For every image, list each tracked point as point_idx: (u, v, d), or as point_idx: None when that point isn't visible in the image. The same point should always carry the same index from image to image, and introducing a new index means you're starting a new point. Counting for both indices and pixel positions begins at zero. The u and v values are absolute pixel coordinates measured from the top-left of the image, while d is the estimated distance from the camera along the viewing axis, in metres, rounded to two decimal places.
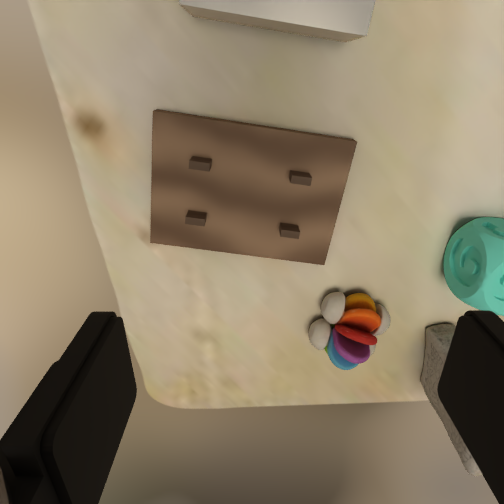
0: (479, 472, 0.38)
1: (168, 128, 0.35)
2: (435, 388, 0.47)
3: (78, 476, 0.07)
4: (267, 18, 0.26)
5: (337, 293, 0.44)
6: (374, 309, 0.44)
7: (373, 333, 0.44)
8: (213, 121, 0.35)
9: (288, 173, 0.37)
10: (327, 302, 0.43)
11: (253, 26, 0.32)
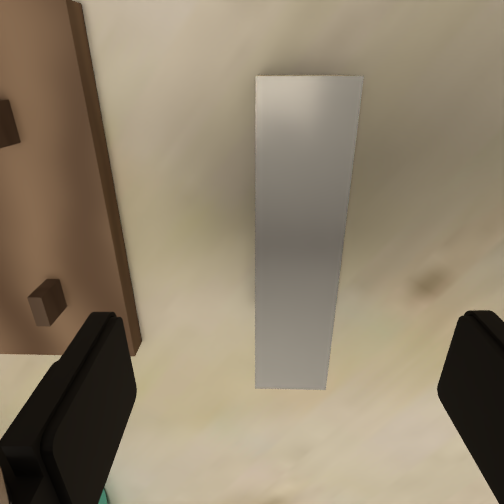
0: None
1: (41, 39, 0.16)
2: None
3: (78, 476, 0.07)
4: (256, 253, 0.15)
5: None
6: None
7: None
8: (90, 138, 0.18)
9: (53, 277, 0.22)
10: None
11: None
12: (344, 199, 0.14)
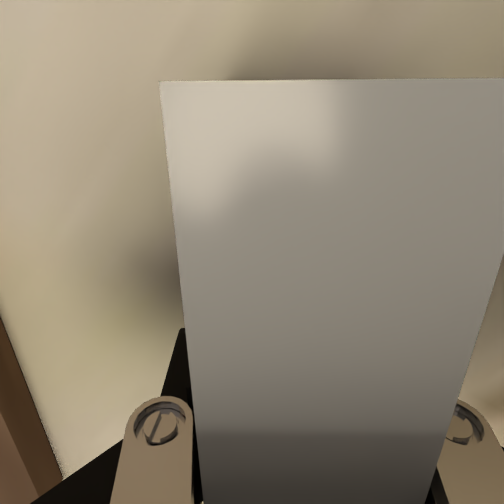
0: None
1: None
2: None
3: None
4: None
5: None
6: None
7: None
8: None
9: None
10: None
11: None
12: (439, 417, 0.05)
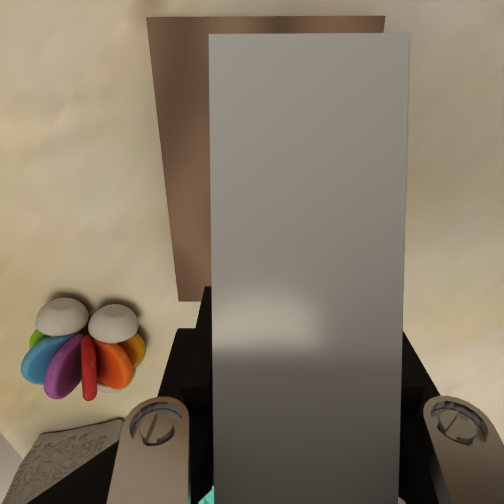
0: None
1: None
2: (45, 467, 0.35)
3: None
4: (215, 394, 0.07)
5: (136, 321, 0.31)
6: None
7: None
8: None
9: None
10: (120, 316, 0.30)
11: None
12: (394, 271, 0.07)
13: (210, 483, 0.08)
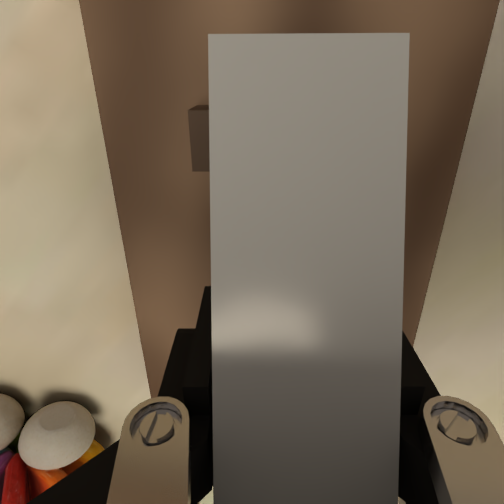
0: None
1: (450, 26, 0.12)
2: None
3: None
4: (215, 394, 0.07)
5: (91, 428, 0.22)
6: None
7: None
8: (458, 153, 0.14)
9: None
10: (64, 428, 0.20)
11: None
12: (394, 271, 0.07)
13: (210, 483, 0.08)
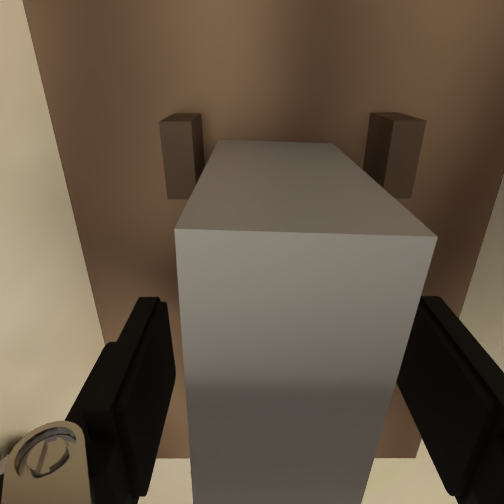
0: None
1: (499, 12, 0.10)
2: None
3: (140, 444, 0.08)
4: None
5: None
6: None
7: None
8: (500, 172, 0.11)
9: None
10: None
11: None
12: (369, 442, 0.07)
13: None
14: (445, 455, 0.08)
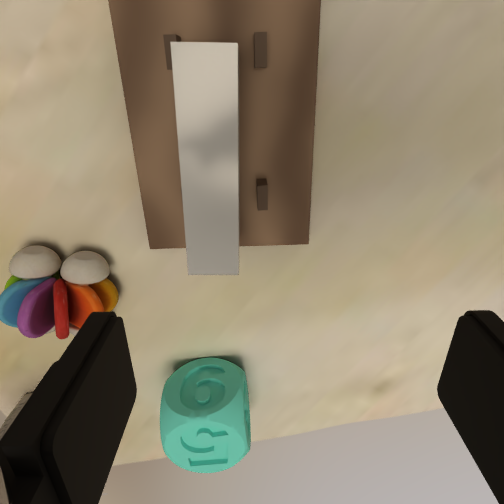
0: None
1: None
2: None
3: (78, 476, 0.07)
4: (180, 166, 0.22)
5: (107, 266, 0.32)
6: None
7: (69, 326, 0.33)
8: (315, 62, 0.26)
9: (261, 177, 0.29)
10: (90, 259, 0.31)
11: None
12: (235, 126, 0.21)
13: None
14: None
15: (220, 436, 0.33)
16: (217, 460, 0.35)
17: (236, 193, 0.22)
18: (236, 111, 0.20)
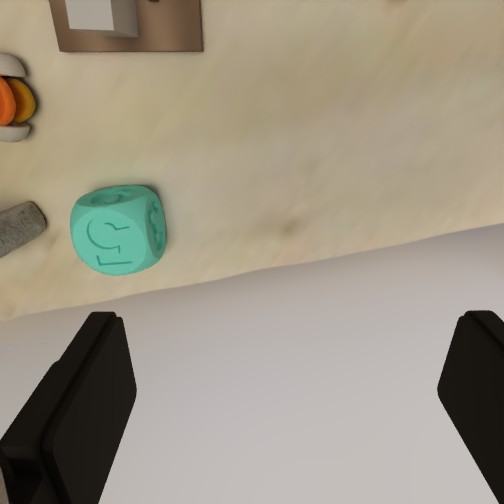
0: None
1: None
2: None
3: (78, 476, 0.07)
4: None
5: (21, 67, 0.36)
6: (19, 118, 0.38)
7: None
8: None
9: None
10: (4, 54, 0.35)
11: None
12: None
13: None
14: None
15: (121, 230, 0.37)
16: (124, 262, 0.39)
17: None
18: None
